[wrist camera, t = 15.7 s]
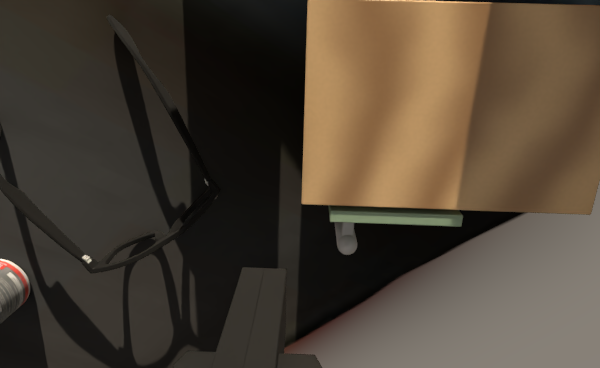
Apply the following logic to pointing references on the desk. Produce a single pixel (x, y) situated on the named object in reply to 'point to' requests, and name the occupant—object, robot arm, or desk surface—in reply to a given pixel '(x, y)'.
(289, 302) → the desk surface
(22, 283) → the pill bottle
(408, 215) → the sliding door
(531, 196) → the cabinet
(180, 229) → the glasses
